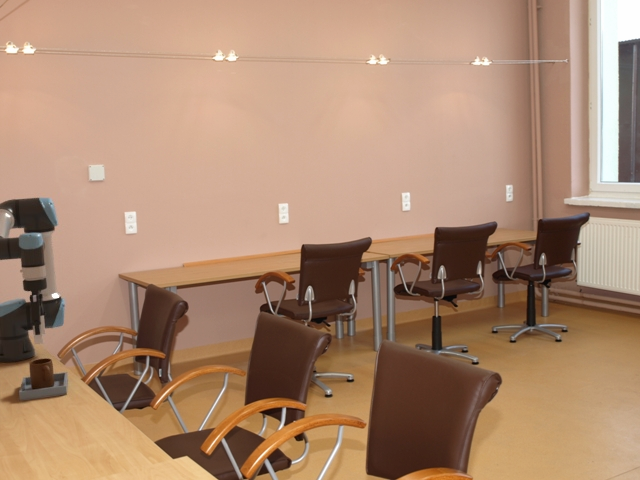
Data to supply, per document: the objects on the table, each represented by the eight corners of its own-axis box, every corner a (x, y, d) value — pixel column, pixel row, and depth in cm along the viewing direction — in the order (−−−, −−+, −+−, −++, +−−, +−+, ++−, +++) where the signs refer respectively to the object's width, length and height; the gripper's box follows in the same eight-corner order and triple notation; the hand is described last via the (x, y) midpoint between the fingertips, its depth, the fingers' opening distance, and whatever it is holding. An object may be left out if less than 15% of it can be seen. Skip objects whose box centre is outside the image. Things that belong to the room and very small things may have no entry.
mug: (61, 390, 246) (59, 363, 245) (38, 395, 242) (36, 368, 241) (50, 382, 256) (48, 356, 255) (28, 387, 251) (26, 361, 250)
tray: (24, 385, 255) (23, 377, 255) (67, 380, 260) (67, 372, 259) (19, 400, 239) (19, 392, 239) (66, 394, 244) (65, 386, 243)
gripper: (25, 273, 255) (31, 331, 258) (19, 285, 232) (25, 349, 234) (48, 271, 258) (53, 329, 260) (44, 283, 234) (49, 346, 237)
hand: (40, 338), depth 247 cm, fingers open, 13 cm apart
